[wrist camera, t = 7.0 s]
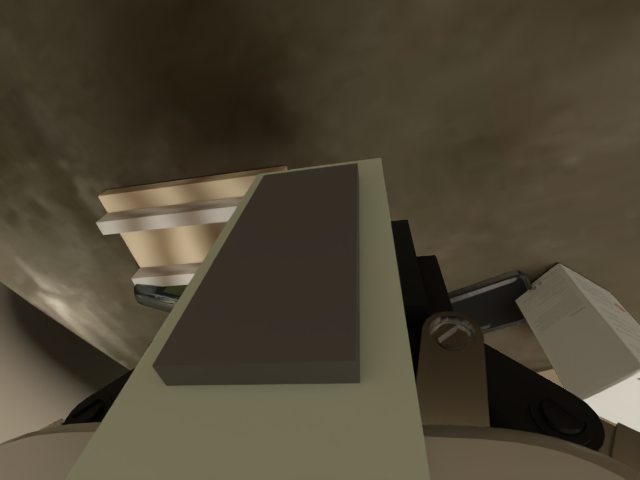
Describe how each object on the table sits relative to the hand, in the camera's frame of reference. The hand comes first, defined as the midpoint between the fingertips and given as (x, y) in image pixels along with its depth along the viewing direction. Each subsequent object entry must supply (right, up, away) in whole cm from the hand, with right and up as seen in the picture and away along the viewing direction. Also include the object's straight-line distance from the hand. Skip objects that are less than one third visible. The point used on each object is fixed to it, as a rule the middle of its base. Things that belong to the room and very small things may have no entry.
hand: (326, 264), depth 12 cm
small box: (+27, -5, +26) cm, 38 cm away
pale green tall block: (0, +1, +2) cm, 2 cm away
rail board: (-12, +2, +25) cm, 28 cm away
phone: (+18, -8, +29) cm, 35 cm away
